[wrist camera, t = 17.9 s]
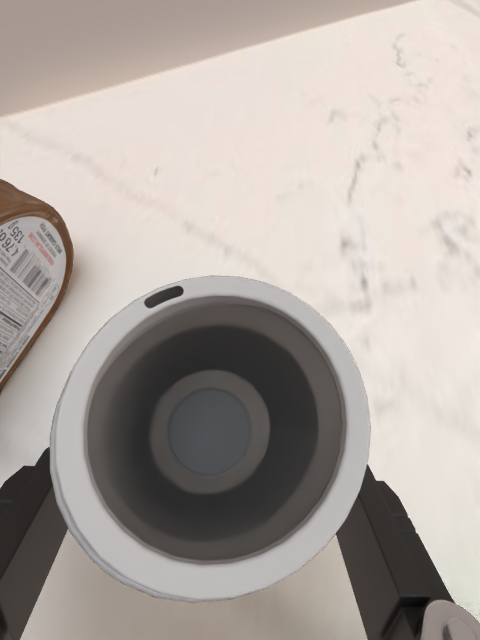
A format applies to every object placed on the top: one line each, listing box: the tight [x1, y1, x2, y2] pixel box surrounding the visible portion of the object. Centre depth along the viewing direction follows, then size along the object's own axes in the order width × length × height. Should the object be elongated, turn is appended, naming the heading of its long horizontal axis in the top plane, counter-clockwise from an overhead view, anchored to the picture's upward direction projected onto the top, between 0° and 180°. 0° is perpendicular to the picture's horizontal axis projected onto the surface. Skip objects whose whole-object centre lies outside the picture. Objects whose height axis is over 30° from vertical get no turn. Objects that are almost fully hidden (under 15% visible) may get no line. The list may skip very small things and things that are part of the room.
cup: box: [50, 276, 371, 603], centre depth 12 cm, size 7×7×12 cm
